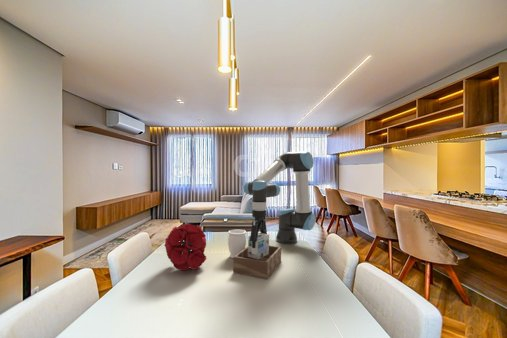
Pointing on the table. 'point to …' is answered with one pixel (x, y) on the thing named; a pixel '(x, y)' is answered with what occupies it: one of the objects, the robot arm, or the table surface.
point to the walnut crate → (257, 263)
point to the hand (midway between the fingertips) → (258, 250)
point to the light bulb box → (259, 246)
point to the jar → (236, 241)
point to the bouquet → (186, 247)
